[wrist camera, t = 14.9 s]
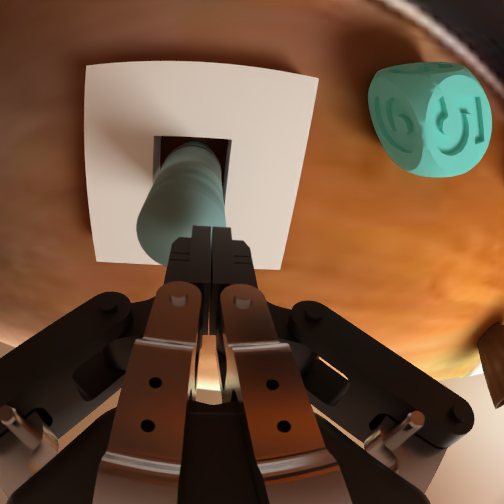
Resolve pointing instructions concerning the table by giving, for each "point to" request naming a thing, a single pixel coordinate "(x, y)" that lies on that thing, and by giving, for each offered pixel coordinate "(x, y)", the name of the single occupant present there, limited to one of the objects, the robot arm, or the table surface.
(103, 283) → the table surface
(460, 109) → the decorative dice
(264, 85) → the hole board
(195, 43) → the table surface
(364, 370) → the robot arm
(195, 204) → the peg
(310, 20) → the table surface
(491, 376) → the plant pot
